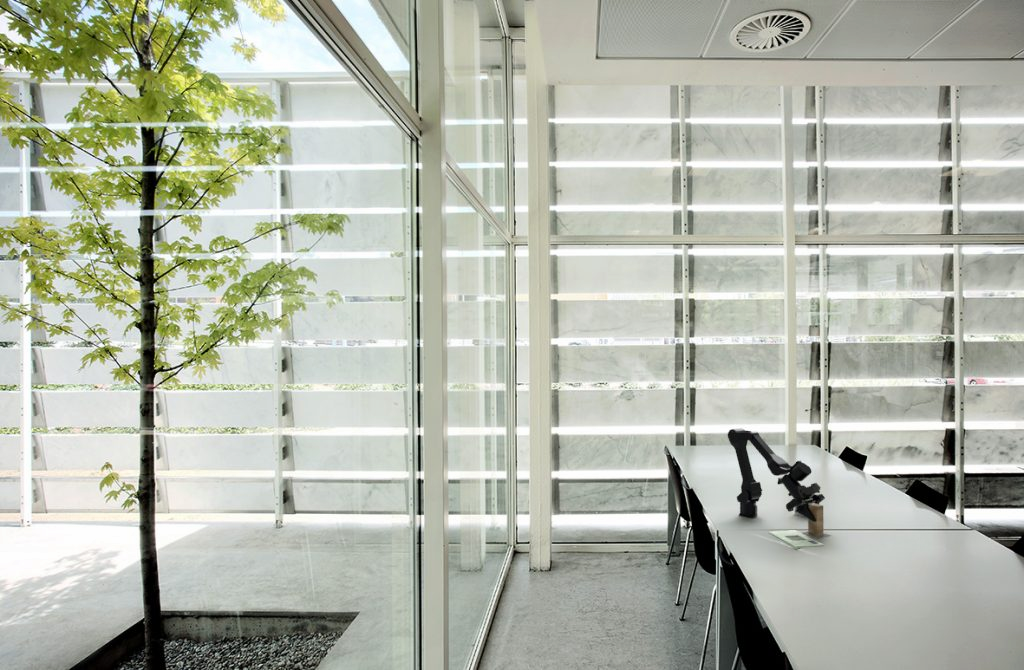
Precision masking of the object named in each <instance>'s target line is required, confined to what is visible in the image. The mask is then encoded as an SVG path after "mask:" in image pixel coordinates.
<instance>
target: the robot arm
mask: <svg viewBox="0 0 1024 670" xmlns="http://www.w3.org/2000/svg"><path fill="white" fill-rule="evenodd" d="M727 438H728V441H729V443H730V445H731V446H732V447H733V448H734V451H735V455H736V458H737V462H738V467H739V470H740V475H741V479H742V482H741V485H740V490H741V492H740V493H739V494H738V495H737V496H736V501H737V502H738V503H739V513H738V516H739V517H747V518H752V519H754V518H755V517H756V516H758V505H757V502H759V501H760V498H761V497H762V494H763V489H762V486H761V482H760V481H756V479H755V477H754V474H753V473H754V472H753V469H752V465H751V461H750V458H749V454H748V449H747V445H748V441H749V443H751V444H752V445H753V447H754V448H755V449H756V451H757V452H758V453H759V454H760V455H761V456H762V457H763V459H764V460H765V462H766V465H767V466H766V467H767V468H768V470H769V471H770V472H771V474H772V475H773V476H776V477H777V476H779V477H777V482H776V483H777V485H783V486H784V488H785V489H786V490H787V491H788V493H787V495H788V496H789V497H792V499H791V500H789V502H787V503H786V504H785V508H786V510H787V511H788V512H793V511H794V513H795V512H798V513H800V514H802V515H803V516H802V517H804V516H805V517H806V518H807V519H810V520H812V521H813V522H816V519H815V517H814V515H813V514H812V512H811V511H810V509H809V504H813V503H816V504H819V505H820V503H822V502H823V501H824V500H825V499H826V497H825V496H824V494H822V493H821V486H820V485H819V484H818V483H817V482H813V483H811V484H810V486H806V485H804V484H801V483H800V482H803V481H804V480H806V478H807V477H808V476H810V475H811V473H812V468H811V467H810V466H808V465H807V464H806V463H805V462H802V461H801V460H797V461H796V462H795V463H794V464H793V465H792V464H789V463H788V462H787V461H786V460H785V459H784V458H783V457H781V456H779V455H777V454H776V453H775V452H774V451H773V450H772V449H771V447H770V446H769V445H768V444H767V443H766V441H764V439H763V438H762V437H761V435H760V433H759V432H758V431H753V430H746V429H744V428H742V427H741V428H731V429H729V431H728V432H727ZM780 476H781V477H780ZM812 494H814V495H812ZM811 496H812V497H811ZM810 497H811V498H810ZM795 507H796V508H797V510H796V511H795Z"/></svg>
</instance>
